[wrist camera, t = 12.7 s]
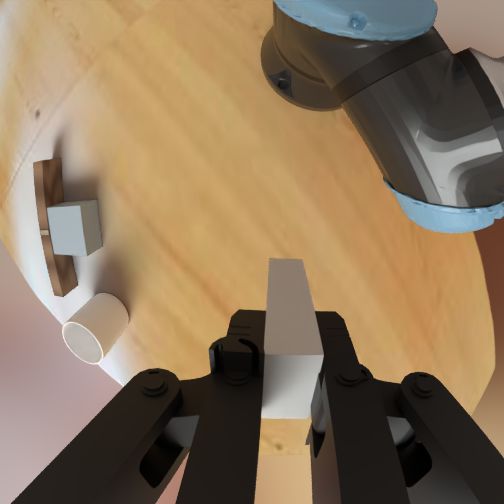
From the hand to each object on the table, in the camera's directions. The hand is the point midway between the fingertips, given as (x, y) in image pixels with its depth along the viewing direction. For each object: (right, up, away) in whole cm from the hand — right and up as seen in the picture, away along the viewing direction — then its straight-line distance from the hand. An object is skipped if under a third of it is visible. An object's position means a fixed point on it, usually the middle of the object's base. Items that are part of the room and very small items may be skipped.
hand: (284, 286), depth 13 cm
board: (-36, +7, +29) cm, 46 cm away
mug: (-29, -11, +35) cm, 46 cm away
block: (-31, +7, +29) cm, 42 cm away
